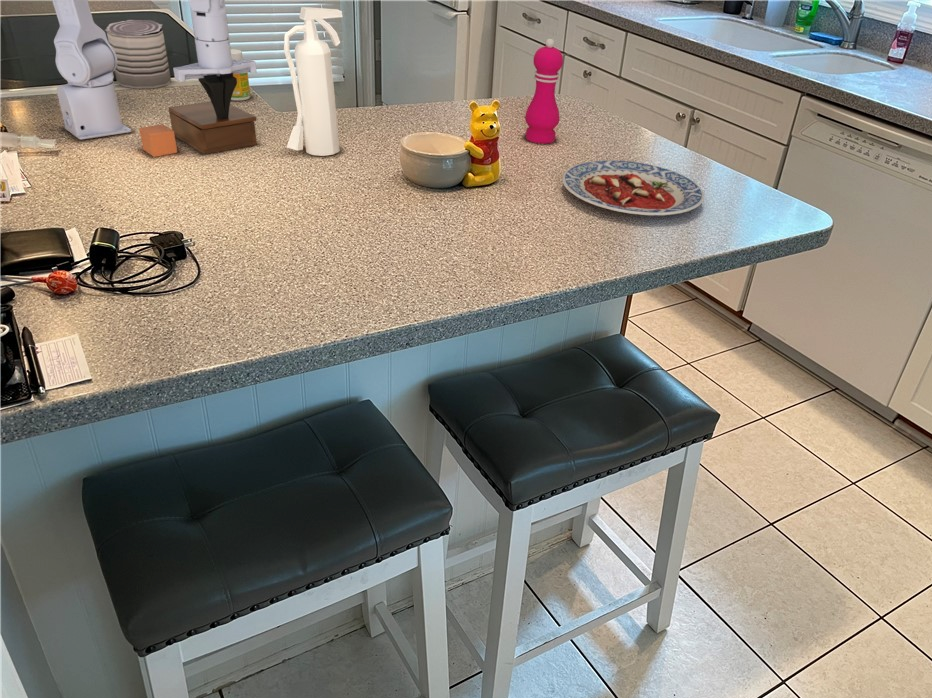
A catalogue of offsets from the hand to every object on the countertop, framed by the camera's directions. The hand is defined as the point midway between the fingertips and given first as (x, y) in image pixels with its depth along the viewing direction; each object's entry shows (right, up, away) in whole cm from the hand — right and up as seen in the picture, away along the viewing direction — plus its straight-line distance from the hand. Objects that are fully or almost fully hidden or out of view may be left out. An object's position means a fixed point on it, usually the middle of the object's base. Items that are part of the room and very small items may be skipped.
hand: (222, 117), depth 142 cm
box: (-4, -2, +6) cm, 7 cm away
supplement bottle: (-7, +14, +29) cm, 33 cm away
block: (-11, -7, -2) cm, 13 cm away
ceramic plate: (+75, -15, -1) cm, 77 cm away
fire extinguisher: (+16, -5, +5) cm, 18 cm away
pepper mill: (+59, +3, +22) cm, 64 cm away
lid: (-3, +1, +3) cm, 4 cm away
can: (-30, +19, +33) cm, 48 cm away
